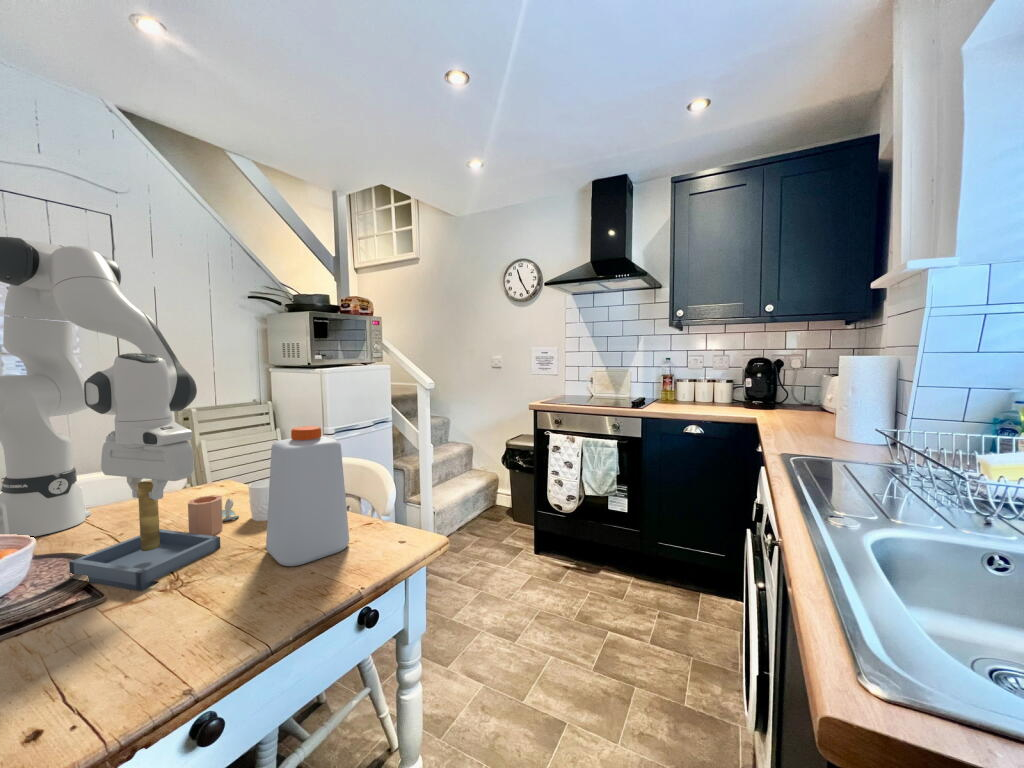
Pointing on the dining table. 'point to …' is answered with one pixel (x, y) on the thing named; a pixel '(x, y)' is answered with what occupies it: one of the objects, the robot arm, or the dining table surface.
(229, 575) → the dining table surface
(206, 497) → the terracotta cup
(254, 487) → the white cup
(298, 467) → the plastic bottle
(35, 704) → the dining table surface
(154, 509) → the dowel pin
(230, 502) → the pacifier
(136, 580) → the navy tray
